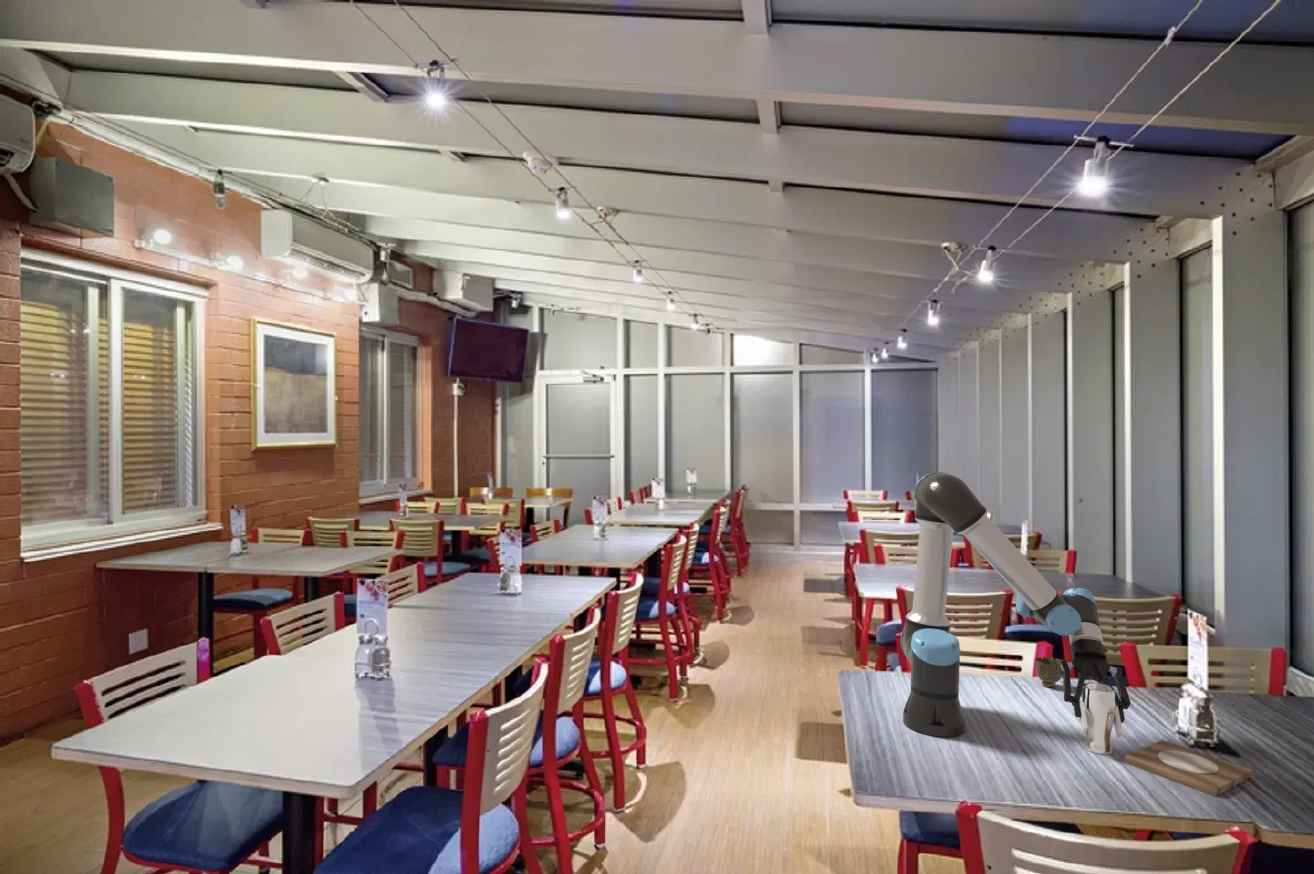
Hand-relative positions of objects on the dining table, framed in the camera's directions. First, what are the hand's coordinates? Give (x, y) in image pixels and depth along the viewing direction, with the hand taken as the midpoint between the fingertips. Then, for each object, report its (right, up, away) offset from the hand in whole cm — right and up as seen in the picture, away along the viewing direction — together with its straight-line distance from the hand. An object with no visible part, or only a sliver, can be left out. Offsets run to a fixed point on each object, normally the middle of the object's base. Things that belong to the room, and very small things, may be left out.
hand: (1102, 732), depth 172 cm
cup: (+13, -6, +47) cm, 49 cm away
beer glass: (+1, -6, +3) cm, 7 cm away
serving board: (+15, -6, -6) cm, 18 cm away
